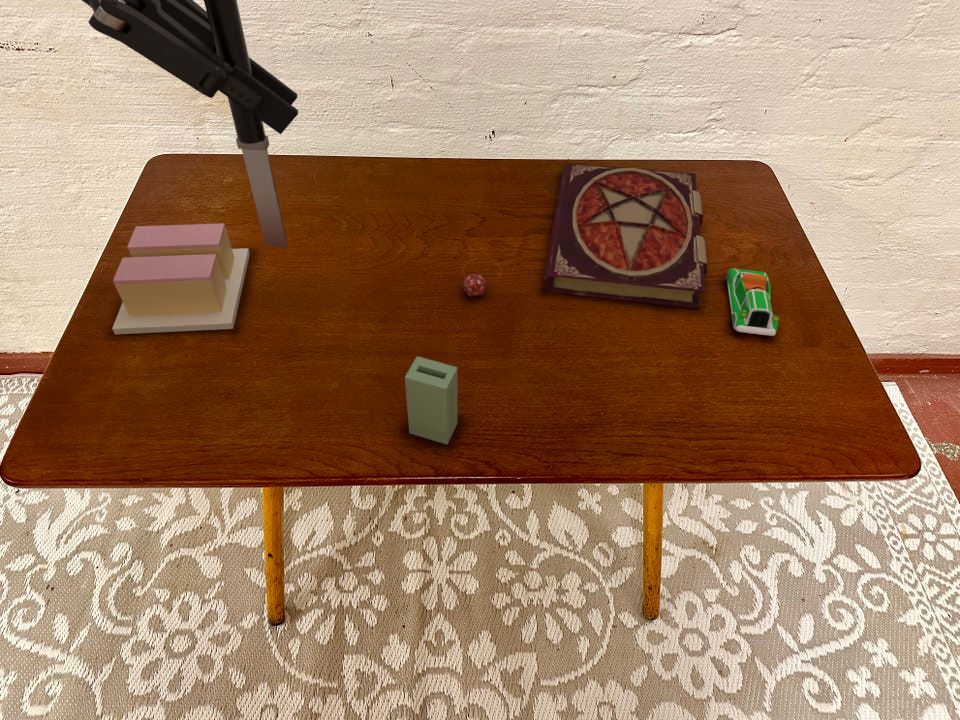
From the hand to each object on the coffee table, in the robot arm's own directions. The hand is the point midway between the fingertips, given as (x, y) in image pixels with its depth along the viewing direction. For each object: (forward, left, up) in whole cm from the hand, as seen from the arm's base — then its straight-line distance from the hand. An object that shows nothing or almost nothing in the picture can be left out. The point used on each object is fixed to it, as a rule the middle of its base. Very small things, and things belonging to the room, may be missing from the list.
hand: (288, 113), depth 65 cm
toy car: (+45, -29, -28) cm, 61 cm away
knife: (-4, +2, -15) cm, 16 cm away
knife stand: (+1, -21, -27) cm, 35 cm away
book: (+43, -9, -28) cm, 52 cm away
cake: (-12, +16, -27) cm, 34 cm away
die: (+18, -6, -28) cm, 34 cm away
